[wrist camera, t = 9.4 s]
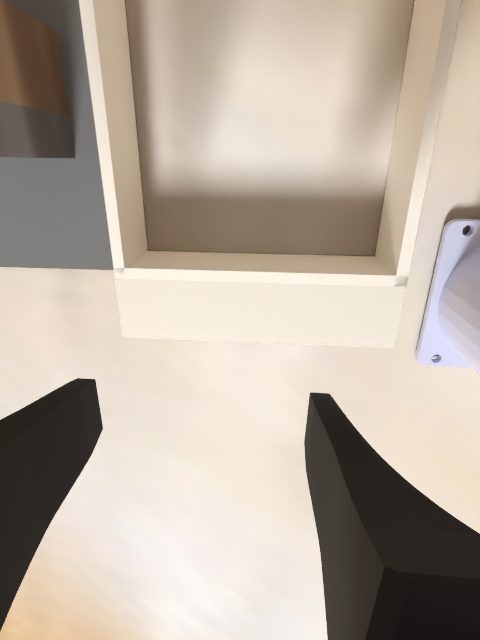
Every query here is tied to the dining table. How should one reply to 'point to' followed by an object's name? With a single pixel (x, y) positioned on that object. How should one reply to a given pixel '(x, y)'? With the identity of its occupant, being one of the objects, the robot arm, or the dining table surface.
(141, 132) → the dining table surface
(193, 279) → the carton
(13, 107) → the block
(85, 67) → the mat
